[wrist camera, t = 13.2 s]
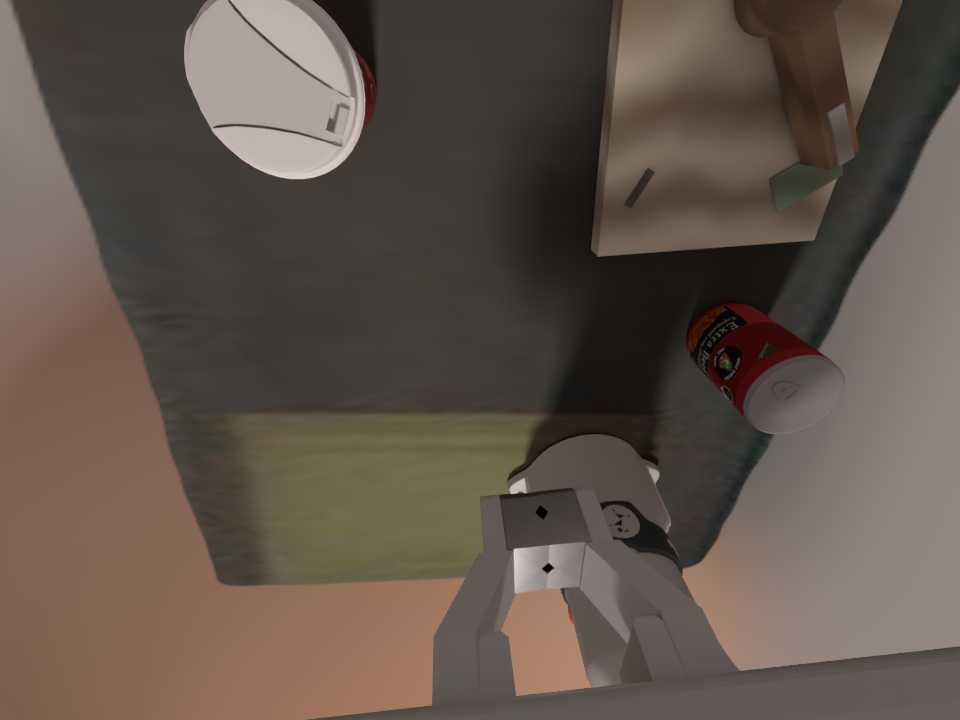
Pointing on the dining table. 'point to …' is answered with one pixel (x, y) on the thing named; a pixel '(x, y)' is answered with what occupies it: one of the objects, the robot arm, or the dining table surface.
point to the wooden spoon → (807, 74)
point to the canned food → (764, 368)
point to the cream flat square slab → (712, 129)
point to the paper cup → (279, 84)
